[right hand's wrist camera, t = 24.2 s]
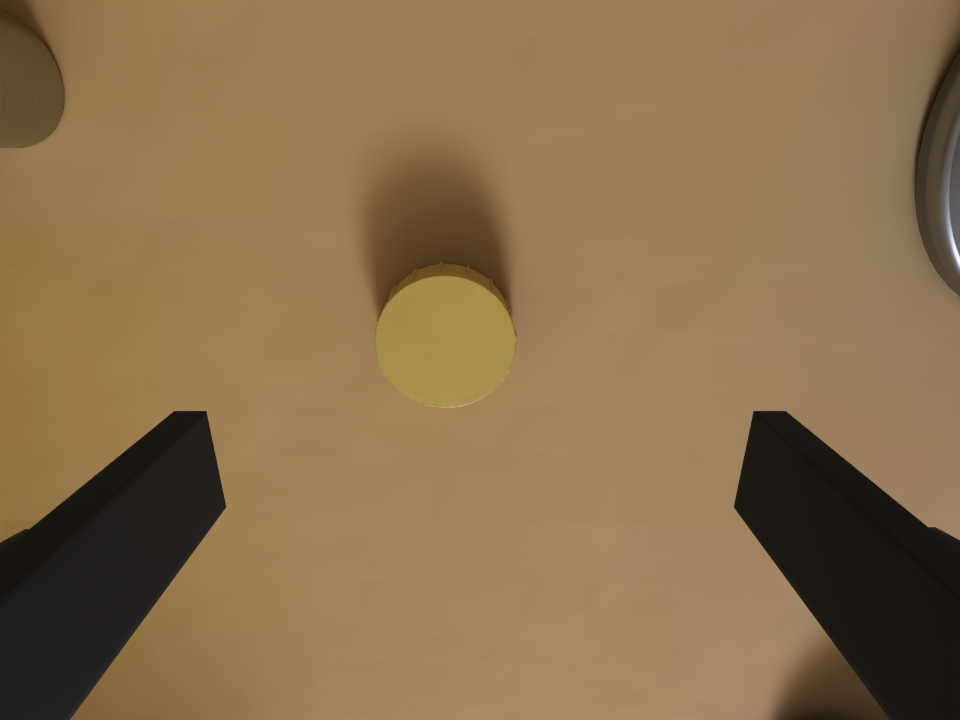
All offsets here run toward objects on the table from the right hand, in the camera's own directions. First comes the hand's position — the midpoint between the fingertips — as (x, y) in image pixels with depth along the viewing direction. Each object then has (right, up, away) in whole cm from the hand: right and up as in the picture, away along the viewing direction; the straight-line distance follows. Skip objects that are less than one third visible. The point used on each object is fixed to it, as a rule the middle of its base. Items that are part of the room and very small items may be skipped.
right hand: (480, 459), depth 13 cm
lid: (-1, +3, +8) cm, 8 cm away
